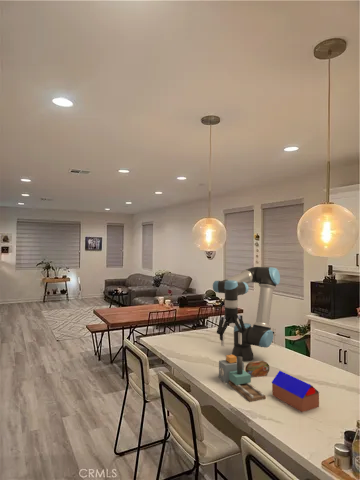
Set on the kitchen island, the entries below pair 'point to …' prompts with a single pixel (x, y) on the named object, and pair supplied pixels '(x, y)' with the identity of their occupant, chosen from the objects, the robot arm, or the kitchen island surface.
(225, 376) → the cabinet
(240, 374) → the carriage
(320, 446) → the kitchen island surface
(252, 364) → the tin
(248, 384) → the rail bed
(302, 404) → the house
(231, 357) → the button
